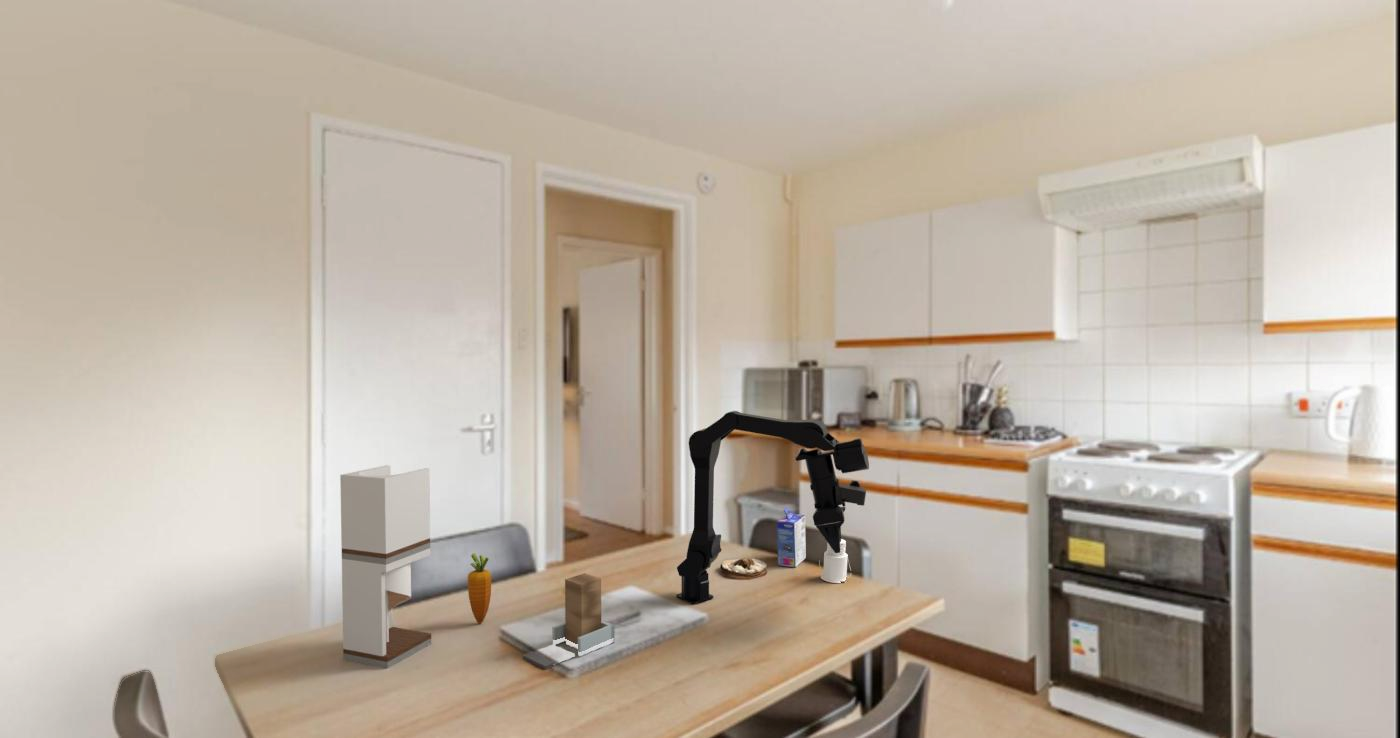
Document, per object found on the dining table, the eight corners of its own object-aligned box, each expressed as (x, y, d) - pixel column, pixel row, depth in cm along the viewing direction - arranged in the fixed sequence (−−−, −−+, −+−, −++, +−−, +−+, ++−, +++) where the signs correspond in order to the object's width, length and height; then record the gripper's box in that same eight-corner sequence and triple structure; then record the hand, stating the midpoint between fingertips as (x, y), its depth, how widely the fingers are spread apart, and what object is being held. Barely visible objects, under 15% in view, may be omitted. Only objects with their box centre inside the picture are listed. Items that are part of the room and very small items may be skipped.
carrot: (496, 623, 150) (496, 553, 149) (475, 630, 146) (474, 558, 146) (484, 617, 153) (483, 549, 153) (463, 623, 149) (462, 554, 149)
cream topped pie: (714, 564, 192) (714, 549, 192) (769, 564, 192) (769, 549, 191) (715, 582, 177) (715, 566, 177) (775, 583, 177) (775, 566, 177)
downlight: (818, 582, 176) (820, 542, 175) (818, 573, 182) (820, 535, 182) (851, 585, 174) (853, 545, 174) (850, 576, 181) (852, 538, 181)
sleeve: (586, 631, 146) (586, 614, 145) (614, 642, 140) (614, 625, 140) (520, 657, 133) (520, 638, 133) (548, 670, 128) (548, 651, 128)
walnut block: (585, 636, 143) (584, 573, 143) (601, 643, 140) (601, 578, 139) (565, 644, 139) (565, 579, 139) (581, 651, 136) (581, 584, 136)
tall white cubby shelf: (387, 668, 129) (384, 478, 128) (343, 659, 133) (340, 474, 131) (431, 643, 140) (429, 468, 138) (389, 636, 143) (386, 465, 142)
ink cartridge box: (787, 555, 198) (787, 504, 198) (806, 558, 196) (806, 506, 196) (776, 565, 189) (776, 512, 189) (795, 568, 187) (796, 514, 187)
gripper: (859, 476, 143) (876, 552, 142) (859, 464, 161) (874, 531, 161) (805, 486, 145) (822, 561, 145) (811, 473, 164) (826, 539, 163)
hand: (838, 547), depth 153 cm, fingers open, 9 cm apart
